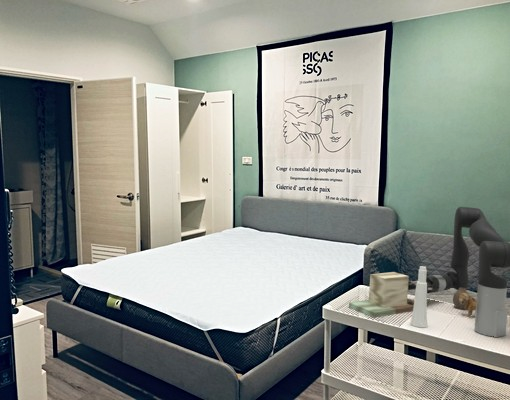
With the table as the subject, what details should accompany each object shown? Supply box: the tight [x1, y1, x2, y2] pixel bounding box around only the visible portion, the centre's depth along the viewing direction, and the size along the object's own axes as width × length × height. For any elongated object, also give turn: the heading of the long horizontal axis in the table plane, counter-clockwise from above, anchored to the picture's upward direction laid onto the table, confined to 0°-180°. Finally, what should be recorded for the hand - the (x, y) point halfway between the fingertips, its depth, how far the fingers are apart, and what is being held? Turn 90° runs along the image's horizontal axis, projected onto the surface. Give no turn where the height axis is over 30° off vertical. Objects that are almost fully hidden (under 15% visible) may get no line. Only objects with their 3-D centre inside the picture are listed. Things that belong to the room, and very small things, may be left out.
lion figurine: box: [459, 293, 477, 318], centre depth 177 cm, size 15×5×9 cm, turn 45°
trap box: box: [348, 298, 414, 318], centre depth 184 cm, size 14×30×2 cm, turn 120°
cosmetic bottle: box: [409, 265, 428, 329], centre depth 164 cm, size 6×6×22 cm
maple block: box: [368, 271, 410, 308], centre depth 184 cm, size 8×14×12 cm, turn 120°
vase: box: [452, 288, 470, 310], centre depth 190 cm, size 7×7×9 cm
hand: (406, 287), depth 189 cm, fingers closed
